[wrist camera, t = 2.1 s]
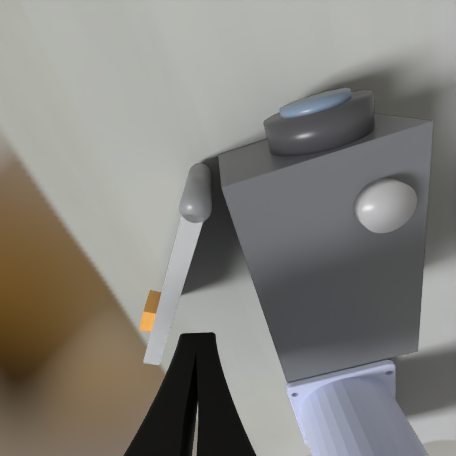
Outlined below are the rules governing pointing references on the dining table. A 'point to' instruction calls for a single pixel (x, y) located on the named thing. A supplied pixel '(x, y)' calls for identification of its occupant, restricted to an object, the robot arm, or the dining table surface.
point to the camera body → (334, 229)
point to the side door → (178, 261)
